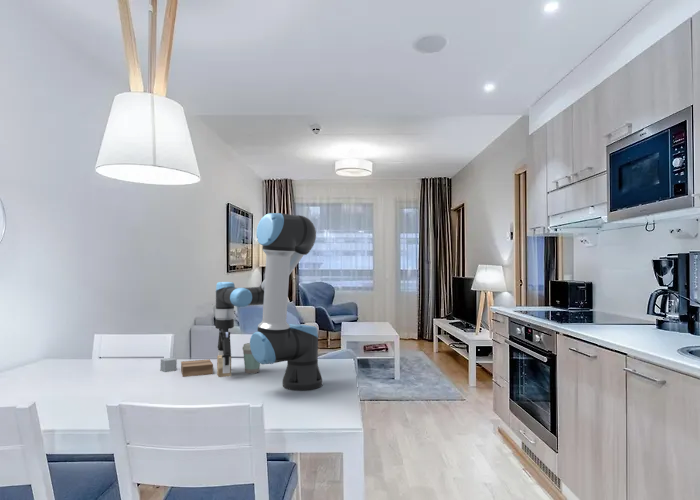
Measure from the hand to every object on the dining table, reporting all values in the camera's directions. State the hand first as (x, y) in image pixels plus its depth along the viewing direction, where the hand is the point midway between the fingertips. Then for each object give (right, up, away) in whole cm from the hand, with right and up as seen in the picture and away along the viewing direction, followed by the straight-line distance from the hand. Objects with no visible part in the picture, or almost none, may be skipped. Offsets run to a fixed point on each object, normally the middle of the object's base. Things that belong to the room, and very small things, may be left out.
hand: (223, 369), depth 188 cm
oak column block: (0, -2, 0) cm, 2 cm away
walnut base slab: (-13, -3, +5) cm, 14 cm away
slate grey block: (-27, -3, +9) cm, 28 cm away
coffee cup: (+11, -3, +6) cm, 12 cm away
